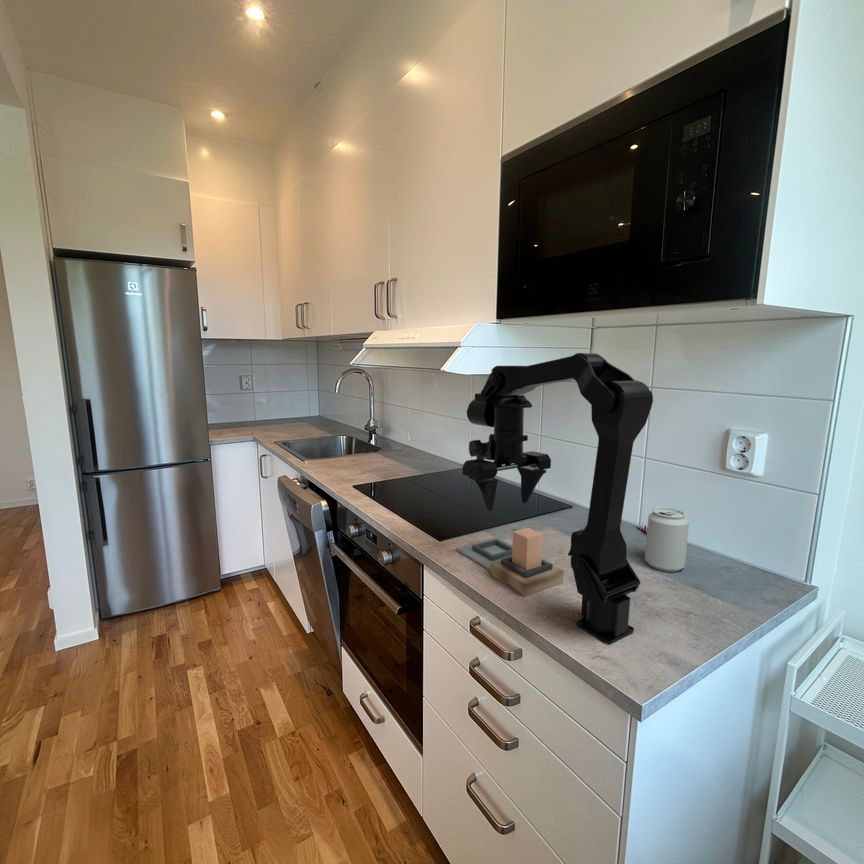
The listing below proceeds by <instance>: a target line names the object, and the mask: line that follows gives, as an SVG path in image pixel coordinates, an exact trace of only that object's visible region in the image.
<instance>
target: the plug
mask: <svg viewBox="0 0 864 864" xmlns="http://www.w3.org/2000/svg"><path fill="white" fill-rule="evenodd" d="M543 535H544V534H543V533H541V532H539V531H536V530H534V529H533V528H532V529H531V528H529V527H525V528H522V529H517V530H514V531H513V532H512V563H513V564H515V565H517V566H519V567H520V568H522V569H524V570H526V571H527V570H530V569H533V568H536V567H539V566H541V561H542V559H543V555H542V554H543V538H544V537H543Z"/></svg>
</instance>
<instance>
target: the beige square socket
mask: <svg viewBox="0 0 864 864" xmlns="http://www.w3.org/2000/svg"><path fill="white" fill-rule="evenodd" d="M564 573H565V572H564V570H563V569H561V568H559V567H558V566H555V565H553V563H551V562H548V561H546V560H544V559H543V558H542V561H541V566H539V567H536V568H533V569H530V570H527V571H526V570H524V569H522V568H520V567H519V566H517V565H515V564H513V563H512V556H511V557H507V558H504V559H501V560H499V561H495V562H492V563H490V571H489V575H490V576H491V577H492V578H495V579H496V580H497V581H499V582H501V583H502V584H504V585H505V586H507V587H509V588H510V589H512V590H514V591H515V592H516V593H518V594H519V595H522V596H523V597H528V596H531V595H534V594H536V593H539V592H542V591H545V590H547V589H550V588H553V587H554V586H558V585H561V584H563V583H564V576H565V575H564Z"/></svg>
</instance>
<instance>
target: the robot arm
mask: <svg viewBox="0 0 864 864" xmlns="http://www.w3.org/2000/svg"><path fill="white" fill-rule="evenodd" d="M569 381H575V382H576V384H577V387H578V389H579V393H580V394H581V396H582V398H584V399H585V400H586V401H587V402H588V403H589V404H590V406H591V422H592V424H593V427H594V430H595V432H596V434H597V437H598V443H597V448H596V456H595V462H594V463H595V464H594V469H593V470H594V473H593V479H592V485H591V494H590V501H589V509H588V514H587V515H588V516H587V522H586V525H585V527H584V529H580V530H576V531H573V532H572V534H571V536H570V549H569V552H568V553H567V555H568V556H569V557H570V567H571V569H572V571H573V577H574V580H575V581H574V582H575V587H576V592H577V593H578V594H579V595H581V598H582V599H581V611H580V612H581V613H580V616H581V618H579V619H576V620H575V624H576V625H577V626H578V627H580V628H581V629H583V630H585V631H587V632H588V633H590V634H591V635H593V636H595V637H596V638H598V639H600V640H601V641H603V642H605V643H606V644H609V645H610V644H612V643H614V642H616V641H618V640H620V639H622V638H624V637H626V636H628V635H631V634H632V633H634V632H635V629H634V627H633V626H631V625H629V623H630V622H629V619H630V618H629V617H630V606H631V597H629V594H631V593H635V592H637V591H638V589H639V587H640V584H641V580H640V578H639V576H638V574H636V572H635V571H634V569H633V567H632V566H631V564H630V563H629V560H628V559H627V557H628V556H627V550H628V549H627V548H628V547H627V543H626V541H625V538H624V536H623V534H622V532H621V525H622V517H623V511H624V505H625V498H626V493H627V485H628V479H629V475H630V474H629V473H630V467H631V462H632V461H631V460H632V452H633V449H634V447H633V446H634V443H635V440H636V439H637V437H638V436H639V434H640V433H641V431H642V430H643V428H644V427H645V425H646V424H647V421H648V419H649V415H650V412H651V409H652V407H653V403H654V395H653V392H652V391H651V390H650V388H649V387H648V386H647V384H645V383H644V382H643V381H639V380H636V379H634V378H633V377H632V376H631V375H630V374H629V373H627V372H625V371H623V370H622V369H620V368H618V367H616V366H614V365H613V364H612V363H610V362H608V361H607V360H606V359H605V358H604V357H603V356H602V355H600V354H598V353H594V352H593V353H592V352H588V353H587V352H585V353H584V352H581V353H580V352H578V353H575V354H573V355H570V356H566V357H565V356H564V357H561V358H557V359H553V360H548V361H547V360H546V361H544V362H543V361H542V362H539V363H535V364H530V365H496V366H494V367H493V368H492V369H491V372H490V373H489V376H488V378H487V380H486V381H485V384H484V386H483V388H482V390H481V391H480V392H478V393H475V394H474V399H472V400H471V401H470V403H469V404H468V407H467V409H466V417H467V419H468V421H469V422H470V423H471V424H473V425H477V426H482V427H489V428H493V433H490V434H489V436H488V441H487V442H482V440H481V439H476V440H475V439H474V440H470V441H469V442H468V453H469V456H470V457H473V459H467V460H465V461H464V463H463V464H462V475H463V476H466V477H468V479H470V480H473V481H474V482H475V483H476V484H477V486H478V488H479V490H480V492H481V495H482V498H483V501H484V505H485V507H486V510H487V511H489V512H492V511H493V509H494V505H495V499H496V494H497V488H498V481H499V479H498V478H495V477H496V476H497V474H498V472H500V471H505V470H511V469H512V470H513V469H517V471H518V473H519V475H520V494H521V495H520V497H521V503H523V504H527V503H528V501H529V499H530V498H531V496H532V494H533V492H534V490H535V489H536V487H537V485H538V483H539V482H540V480H541V479H542V478H543V476H544V474H546V473H547V470H548V469H551V468H552V467H551V466H552V459H551V457H550V455H549V454H547V453H543V452H538V451H534V450H533V451H525V452H524V442H526V441H527V442H528V440H529V439H528V435H526V434H524V414H525V410H524V409H528V408H529V409H530V408H532V406H533V404H532V403H531V401H529V400H528V399H527V397H526V396H525V395H524V394H528V393H529V392H532V391H535V389H536V388H537V387H539V386H545V385H551V384H556V383H563V382H569ZM474 457H476V458H475V459H474Z"/></svg>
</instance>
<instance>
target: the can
mask: <svg viewBox="0 0 864 864" xmlns="http://www.w3.org/2000/svg"><path fill="white" fill-rule="evenodd" d="M651 511H652V512H651V513H650V514H648V519H647V530H646V542H645V555H644V560H645V561H646V562H647V564H649V566H651V568H653V569H655V570H658V571H662V572H668V573H674V572H678V571H680V570H681V569H683V568H685V566H686V557H687V547H688V546H687V545H688V539H689V538H688V537H689V535H688V534H689V527H690V521H689V519H688V518H687V517H686V516H687V513H686V512H684V511H683V510H680V509H677V508H675V507H674V508H673V507H666V506H664V507H663V506H658V507H654V508H652V510H651Z"/></svg>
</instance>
